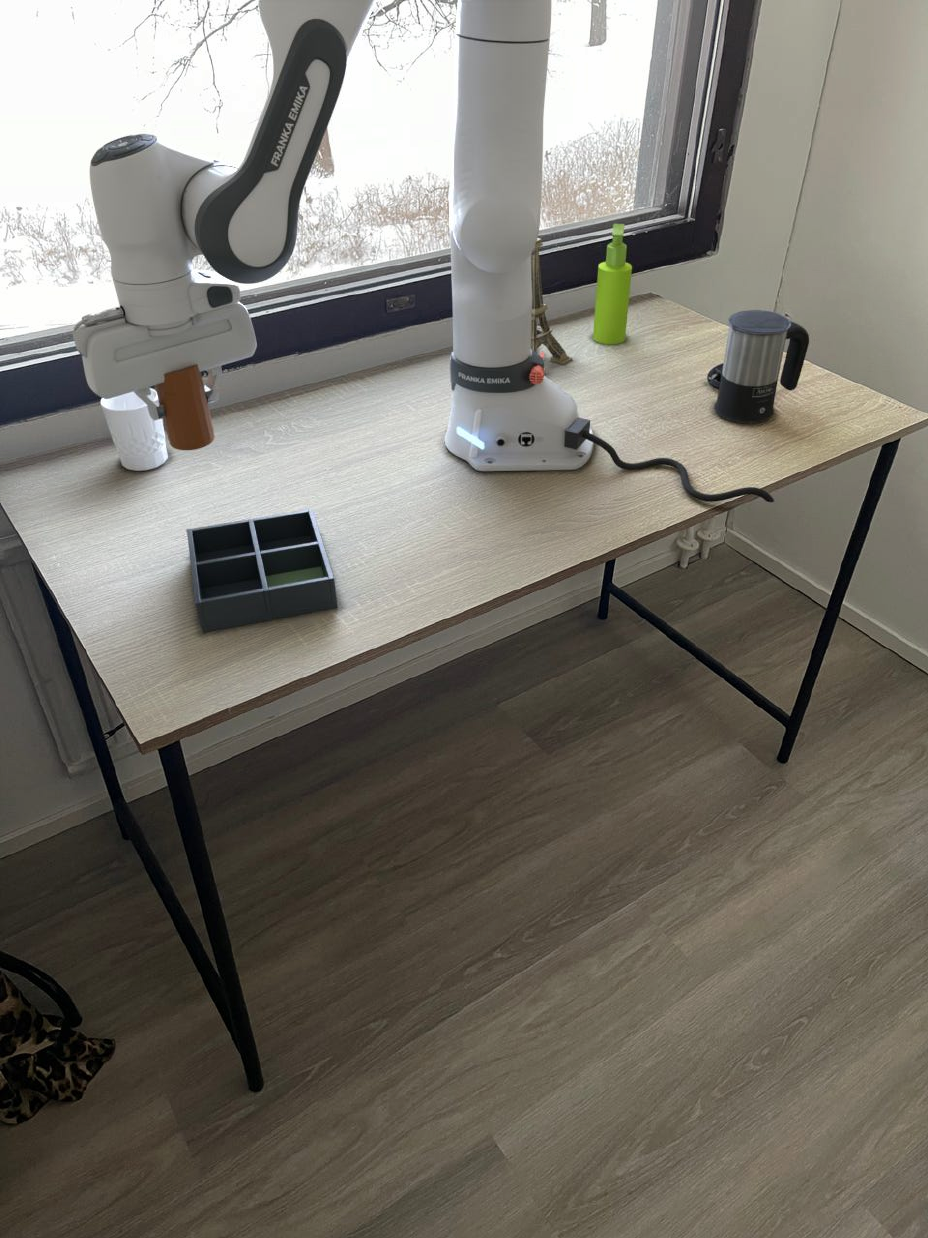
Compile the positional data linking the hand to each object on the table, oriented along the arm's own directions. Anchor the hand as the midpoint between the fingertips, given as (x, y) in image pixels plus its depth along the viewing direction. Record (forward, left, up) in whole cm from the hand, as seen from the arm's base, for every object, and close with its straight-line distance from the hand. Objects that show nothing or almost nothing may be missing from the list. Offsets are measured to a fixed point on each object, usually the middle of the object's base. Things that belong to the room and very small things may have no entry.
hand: (185, 408), depth 115 cm
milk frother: (-70, -49, -17) cm, 87 cm away
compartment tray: (-11, +11, -17) cm, 23 cm away
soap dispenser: (-48, -71, -17) cm, 88 cm away
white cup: (+17, -15, -17) cm, 28 cm away
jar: (0, 0, -4) cm, 4 cm away
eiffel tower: (-35, -59, -17) cm, 71 cm away
